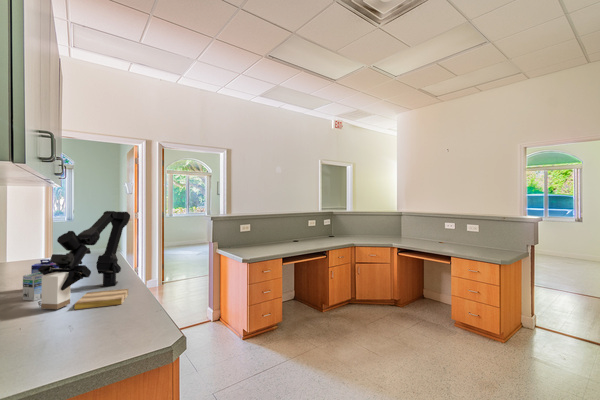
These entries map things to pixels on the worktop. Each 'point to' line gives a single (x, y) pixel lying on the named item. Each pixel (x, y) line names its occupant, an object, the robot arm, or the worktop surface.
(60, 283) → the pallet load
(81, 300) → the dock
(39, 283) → the light bulb box
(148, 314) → the worktop surface
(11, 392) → the worktop surface
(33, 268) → the ink cartridge box
